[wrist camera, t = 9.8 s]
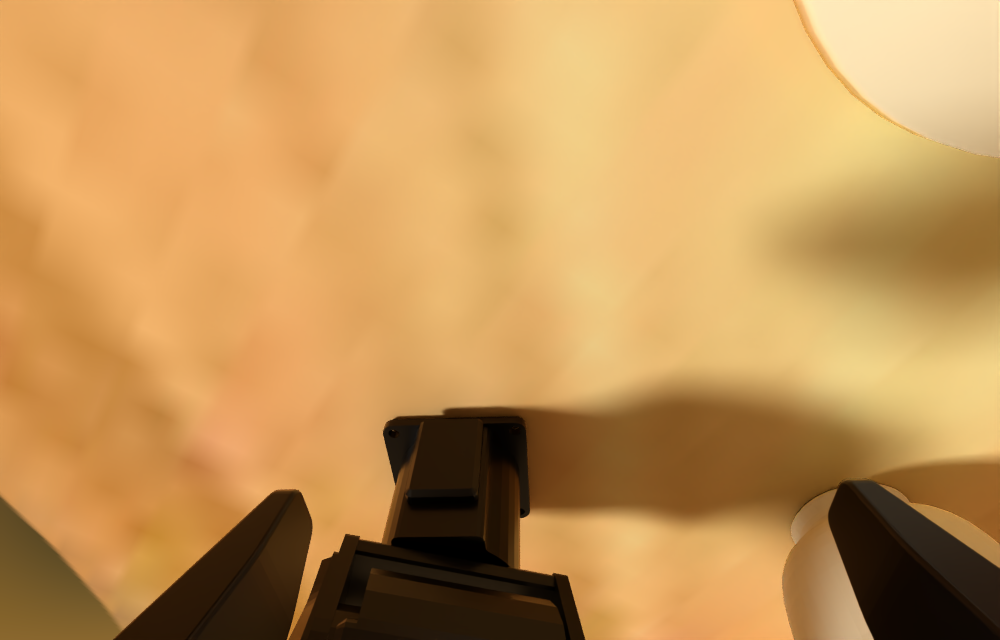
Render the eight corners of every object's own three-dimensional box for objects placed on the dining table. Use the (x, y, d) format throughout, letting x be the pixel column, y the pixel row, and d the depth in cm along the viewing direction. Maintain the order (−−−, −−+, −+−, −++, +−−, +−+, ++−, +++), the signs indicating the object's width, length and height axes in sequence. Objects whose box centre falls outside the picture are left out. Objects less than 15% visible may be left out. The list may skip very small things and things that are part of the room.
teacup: (747, 628, 32) (829, 852, 24) (710, 468, 25) (809, 709, 17) (965, 594, 30) (1142, 831, 21) (993, 406, 23) (1278, 652, 14)
